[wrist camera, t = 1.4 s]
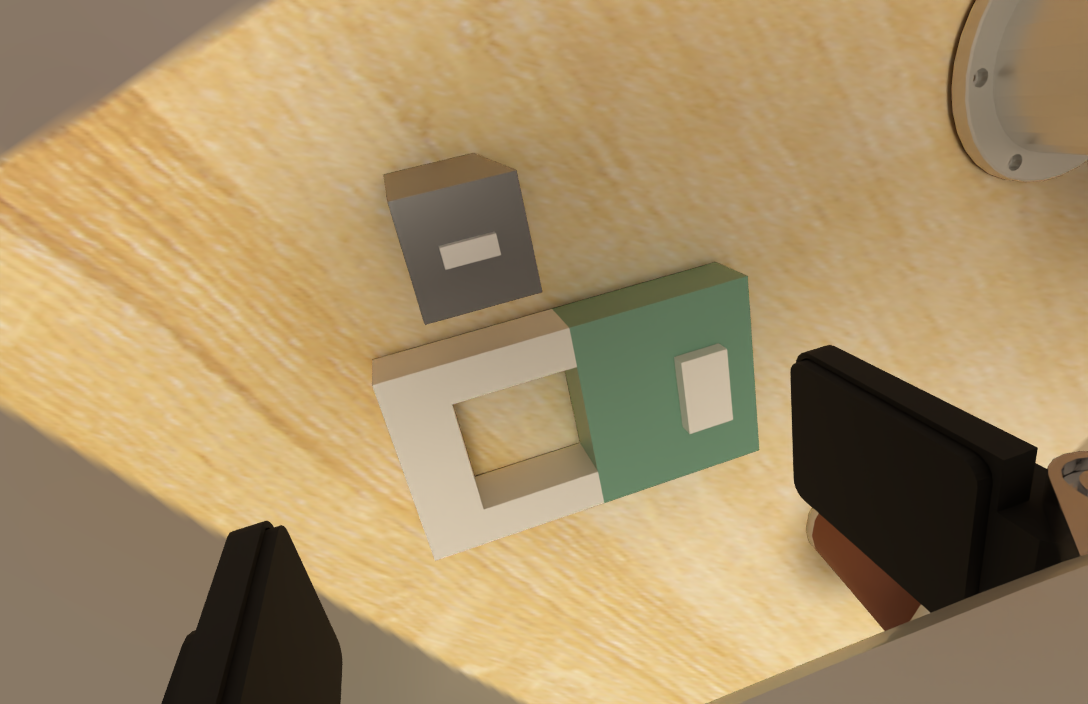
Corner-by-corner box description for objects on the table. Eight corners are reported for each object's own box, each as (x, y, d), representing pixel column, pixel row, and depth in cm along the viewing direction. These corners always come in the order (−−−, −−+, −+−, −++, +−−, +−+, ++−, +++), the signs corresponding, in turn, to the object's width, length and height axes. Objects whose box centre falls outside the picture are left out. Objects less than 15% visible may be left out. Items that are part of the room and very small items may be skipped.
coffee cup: (921, 514, 43) (1105, 650, 32) (817, 591, 43) (965, 752, 32) (881, 429, 39) (1076, 550, 28) (767, 514, 39) (917, 667, 28)
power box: (715, 262, 32) (757, 280, 28) (730, 424, 36) (767, 457, 32) (372, 360, 29) (372, 392, 25) (430, 524, 33) (436, 571, 30)
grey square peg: (473, 152, 27) (518, 171, 18) (494, 240, 28) (544, 294, 20) (383, 174, 26) (387, 203, 18) (410, 263, 28) (425, 327, 19)
